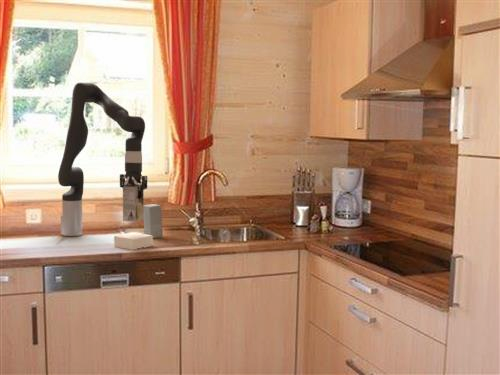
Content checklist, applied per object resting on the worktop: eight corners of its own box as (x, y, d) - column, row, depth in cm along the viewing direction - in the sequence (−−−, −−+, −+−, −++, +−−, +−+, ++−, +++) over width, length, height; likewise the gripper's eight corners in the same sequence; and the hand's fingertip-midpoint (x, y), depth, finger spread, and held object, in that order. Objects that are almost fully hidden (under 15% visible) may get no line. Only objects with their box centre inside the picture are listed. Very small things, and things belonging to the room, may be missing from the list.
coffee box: (130, 218, 265) (130, 183, 263) (143, 218, 264) (144, 183, 262) (122, 221, 256) (122, 185, 254) (135, 221, 255) (136, 185, 253)
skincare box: (163, 237, 282) (163, 205, 280) (149, 238, 278) (149, 206, 276) (155, 234, 289) (155, 203, 287) (142, 236, 285) (142, 204, 283)
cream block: (114, 246, 260) (114, 236, 259) (133, 242, 270) (133, 232, 269) (133, 250, 253) (133, 239, 252) (152, 246, 263) (152, 235, 262)
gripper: (115, 160, 257) (115, 197, 259) (141, 162, 251) (140, 200, 252) (126, 160, 264) (126, 196, 266) (151, 161, 257) (151, 198, 259)
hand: (133, 198), depth 259 cm, fingers closed on coffee box, 7 cm apart
